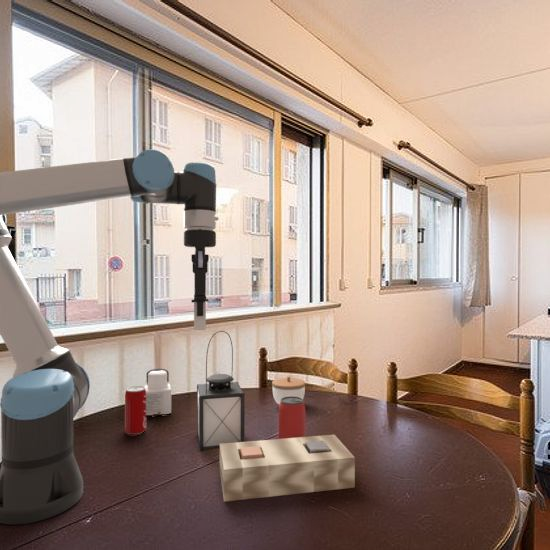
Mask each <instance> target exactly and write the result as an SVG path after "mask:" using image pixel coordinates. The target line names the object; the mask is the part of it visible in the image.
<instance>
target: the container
mask: <svg viewBox="0 0 550 550" xmlns="http://www.w3.org/2000/svg"><path fill="white" fill-rule="evenodd" d="M169 374H170V373H169V371H168V369H165V368H154V369H149V370H148V371H147V372H146V385H144V387H145V390H146V415H153V414H169V413H171V414H172V389H171V388H172V387H171V383H169V382H170V379H169V378H170V377H169Z"/></svg>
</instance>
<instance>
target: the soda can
mask: <svg viewBox="0 0 550 550" xmlns="http://www.w3.org/2000/svg"><path fill="white" fill-rule="evenodd" d="M146 430H147V417H146V390H145V385H144V386H143V385H134V386H128V387H127V388H126V389H125V394H124V432H125V433H126V434H127V433H128V434H139V433H142V432H144V431H145V432H146ZM145 432H144V433H145ZM128 434H127V435H128ZM142 434H143V433H142ZM139 435H140V434H139Z"/></svg>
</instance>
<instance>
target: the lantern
mask: <svg viewBox="0 0 550 550" xmlns="http://www.w3.org/2000/svg"><path fill="white" fill-rule="evenodd" d="M221 332H222V333H225V334H227V335H228V337H229V340H230V343H231V372H233V370H234V369H233V363H234V353H233V352H234V349H233V342H232V338H231V336H230V334H229V333H228V332H227V331H224V330H219V331H216V332H215V333H214V334H213V335H212V336H211V338H210V339H209V342H208V345H207V350H206V355H208V353H209V347H210V343H211V342H212V339H213V337H214V336H215V335H216V334H218V333H221ZM205 358H206V360H205V361H206V362H205V383H197V385H196V404H197V405H196V434H197V438H198V439H197V440H198V450H199V452H203V451H212V450H220V444H223V443H235V442H245V391H243V390H242V388H241V385H240V384H239V382H238V381H234V377H233V376H232V375H229V374H227V373H217V374H211V375H209V376H208V356H205Z"/></svg>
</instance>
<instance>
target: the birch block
mask: <svg viewBox="0 0 550 550" xmlns="http://www.w3.org/2000/svg"><path fill="white" fill-rule="evenodd" d="M312 441H324V442H325V444H326V445H327V446H328V447H329V452H321V453H310V454H309V453H308V452H307V450H306V448H305V442H312ZM252 446H260V449H261V452H262V454H263V458H254V459H242V460H240V447H252ZM355 465H356V457H355V456H354V455H353V454H352V452H350V450H349V449H348V448H347V447H346V445H344V444H343V443H342V441H341V440H340V439H339V438H338V437H337V436H336V434H324V435H312V436H311V435H310V436H305V437H297V438H285V439H279V438H276V439H274V438H273V439H264V440H247V441H244V442H235V443H223V444H220V449H219V477H220V484H221V490H222V497H223V502H233V501H241V500H251V499H252V500H253V499H260V498H271V497H278V496H288V495H289V496H290V495H296V494H307V493H316V492H324V491H326V492H327V491H333V490H343V489H344V490H345V489H354V488H355V487H356V485H355V483H356V481H355V480H356V475H355V474H356V469H355V468H356V466H355Z"/></svg>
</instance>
